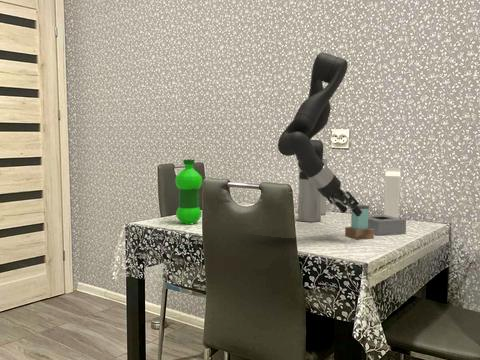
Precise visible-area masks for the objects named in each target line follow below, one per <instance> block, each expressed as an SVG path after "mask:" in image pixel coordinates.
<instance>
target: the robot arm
mask: <svg viewBox="0 0 480 360" xmlns="http://www.w3.org/2000/svg"><path fill="white" fill-rule="evenodd" d="M348 66H349V63H348V60H347V59H345V58H342V57H340V56H336V55H334V54H330V53H327V52H319V53H318V54H317V55H316V56H315V59H314V62H313V65H312V70H311V75H310V76H311V77H310V85H309V86H310V87H309V93H308V97H307V98H306V99H305V100H304V101H303V102H302V104H300V106H299V108H298V110H297V112H296V113H295V116H294V117H293V120H291V122H290V123H289V124H288V126H286V128H285V130H283V132H282V133H281V135H280V136H279V138H278V141H277V148H278V149H277V150H278V151H279V153H280V154H281V155H283V156H285V157H286V156H287V157H290V156H295V158H296V160H297V161H298V162H297V165H298V169H299V168H300V169H301V170H302V171H301V172H300V173H299V172H298V194H299V203H297V204H298V205H297V206H298V208H297V212H298V213H297V214H298V215H297V220H298V222H312V223H314V222H320V221H321V220H322V215H321V194H322V196H324V197H326V201H328V202H329V204H330V205H334V206H335V207H337V208H338V210H339V211H340V212H341V213H342V214H344V213H346V212H347V210H348V208H349V209H350V211H351V212H352V211H353V213H354V214H355V215H356V216H358V217H359V216H360V215H361V213H362V211H361V210H360V209H359V208H358V206H357V205H358V204H359V202H358V201H357V199H356V198H355V197H354V196H353V195H352V194H351V192H349V190H346V191H345V190H343V189H341V186H342V182H341V180H340V179H339V178H338V176H336V174H335V173H334V172H333V171H332V170H331V168H330V167H329V166H328V165H327V166H326V165H325V164H324V163H323V159H324V151H325V150H324V144H323V141H322V140H321V139H312V138H313V137H315V136H316V135H317V134H318V133H319V132H320V131H322V130H323V129H324V128H325V127H326V126H327V124H328V123H329V122H328V121H329V117H330V114H331V109H332V107H331V103H330V100H331V99H332V98H333V96H334V94H335V93H336V92H337V89H339V87H340V86H341V84H342V82H343V80H344V79H345V76H346V73H347V71H348ZM323 83H325V84H326V83H327V85H326V86H325V87H324V84H323ZM347 207H348V208H347Z"/></svg>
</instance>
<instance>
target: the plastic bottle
mask: <svg viewBox="0 0 480 360" xmlns="http://www.w3.org/2000/svg"><path fill="white" fill-rule="evenodd" d="M183 165H184V168H183V169H182V170H181V171H180V172H179V173H177V175H176V176H175V179H174V180H175V187H176V188H177V189H178V207H177V209H176V212H175V216H176V217H177V219H178V221H180V222H181V224H183V223H185V224H184V225H192V224H191V223H195V224H196V223H197V222H198V221H199V220H200V219H201V218H202V210H201V208H200V189H201V188H202V185H203V177H202V175H201V174H200V173H199V172H198V171H197V170H195V168H194V165H195V159H190V158H189V159H186V158H185V159H183Z"/></svg>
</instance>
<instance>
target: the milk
mask: <svg viewBox="0 0 480 360" xmlns="http://www.w3.org/2000/svg"><path fill="white" fill-rule="evenodd" d="M401 171H402V169H401V168H400V167H385V173H384V175H385V178H384V203H383V204H384V205H383V215H387V216H392V217H396V218H400V199H401V198H400V196H401Z"/></svg>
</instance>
